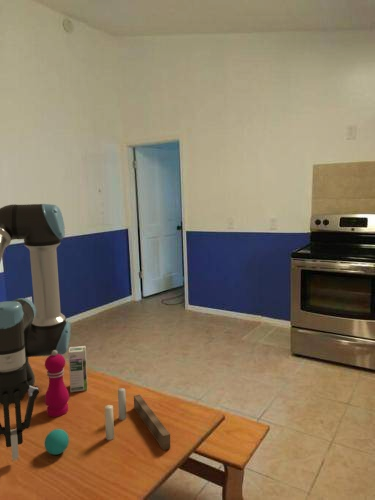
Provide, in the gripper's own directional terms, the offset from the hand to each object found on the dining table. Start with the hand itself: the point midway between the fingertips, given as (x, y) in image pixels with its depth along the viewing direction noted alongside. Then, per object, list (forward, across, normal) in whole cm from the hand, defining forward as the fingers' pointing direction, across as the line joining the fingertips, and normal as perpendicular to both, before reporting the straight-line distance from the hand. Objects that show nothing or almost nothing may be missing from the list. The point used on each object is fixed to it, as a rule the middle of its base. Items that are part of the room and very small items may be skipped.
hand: (15, 456), depth 97 cm
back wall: (+2, +36, 0) cm, 36 cm away
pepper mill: (+2, +13, +21) cm, 25 cm away
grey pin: (+2, +30, +8) cm, 31 cm away
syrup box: (+2, +22, +34) cm, 41 cm away
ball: (-1, +10, 0) cm, 10 cm away
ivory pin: (+2, +24, 0) cm, 24 cm away
